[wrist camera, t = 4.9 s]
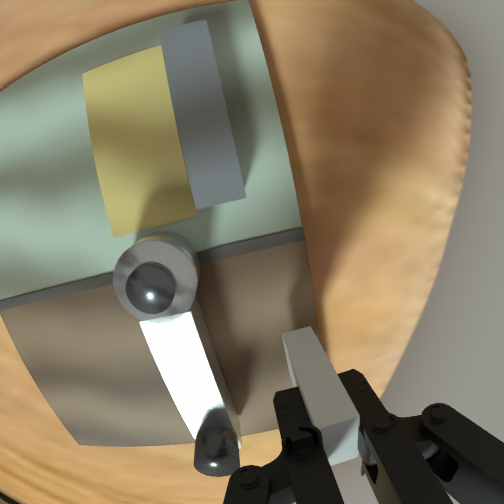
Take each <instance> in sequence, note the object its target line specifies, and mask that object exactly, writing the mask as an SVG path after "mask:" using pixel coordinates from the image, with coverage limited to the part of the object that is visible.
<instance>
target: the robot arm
mask: <svg viewBox="0 0 504 504" xmlns="http://www.w3.org/2000/svg"><path fill="white" fill-rule="evenodd" d="M282 338H283V343H284V348H285V353H286V358H287V363H288V368H289V373H290V377H291V380H292V383H293V386H294V387H293V388H289V389H285V390H281V391H277V392H275V395H274V398H273V404H274V409H275V413H276V417H277V422H278V426H279V431H280V435H281V439H282V447H283V448H282V451H281V453H280V455H279V456H278V457H277V458H276V459H275V460H274V461H272V462H270V463H268V464H266V465H264V466H262V467H259V466H255V465H248V466H243V467H241V468H239V469H237V470H236V471H235V472H233V473H232V475H231V477H230V479H229V482H228V486H227V490H226V494H225V498H224V502H223V504H292V503H294V502H296V504H344V501H343V499H342V496H341V493H340V491H339V488H338V485H337V482H336V480H335V477H334V474H333V472H332V469H331V465H335V464H338V463H341V462H344V461H347V460H350V459H353V458H356V457H358V451H359V453H360V455H361V457H362V465H361V475H362V476H363V475H364V473H365V474H366V476H367V478H368V481H369V483H370V485H371V487H372V489H373V491H374V494H375V496H376V498H377V501H378V502H379V504H453V502H452V501H451V499H450V497H449V496H448V494H449V495H451V496H452V497H453V498H454V499H455V500H456V501H458V502H459V503H460V504H504V443H503V442H502V441H500V440H499V439H497V438H496V437H494V436H493V435H491V434H490V433H488V432H487V431H485V430H484V429H482V428H481V427H480V426H478V425H477V424H475V423H474V422H472V421H471V420H469V419H468V418H466V417H465V416H463V415H462V414H460V413H459V412H457V411H456V410H455V409H453V408H452V407H450V406H449V405H446V404H444V403H436V404H431V405H430V406H428V407H426V408H425V409H424V410H423V412H422V415H418V416H412V417H403V418H402V417H397V416H395V415H393V414H391V413H389V412H388V411H387V410H386V409H385V407H384V406H383V404H382V403H381V401H380V400H379V398H378V397H377V395H376V394H375V392H374V391H373V389H372V388H371V386H370V384H369V383H368V381H367V380H366V378H365V377H364V375H363V374H362V373H360V372H358V371H357V370H355V369H352V370H349V371H346V372H342V373H339V374H337V373H336V371H335V369H334V368H333V366H332V364H331V362H330V360H329V359H328V357H327V355H326V353H325V351H324V350H323V348H322V346H321V344H320V342H319V341H318V339H317V337H316V335H315V333H314V332H313V330H312V328H311V326H309V327H305V328H302V329H298V330H294V331H290V332H286V333H282ZM446 492H447V493H448V494H447V493H446Z"/></svg>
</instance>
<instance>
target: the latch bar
mask: <svg viewBox="0 0 504 504" xmlns="http://www.w3.org/2000/svg"><path fill="white" fill-rule="evenodd" d="M199 276H200V261H199V257H198V255H197V252H196V250H195V249H194V247H193V246H192V245H191V244H190V242H188V241H187V240H186V239H185V238H183V237H182V236H180V235H178V234H176V233H173V232H169V231H156V232H152V233H149V234H147V235H145V236H144V237H142V238H141V239H140V240H138V241H137V242H136V243H135V244H133V245H132V246H131V247H130V248H128V249H127V250H126V251H125V252H124V253H123V254H122V255H121V256H120V258H119V259H118V261H117V263H116V265H115V268H114V273H113V285H114V290H115V293H116V295H117V298H118V299H119V301H120V303H121V304H122V306H123V307H124V308H125V309H126V310H127V311H128V312H129V313H130V314H132V315H133V316H135V317H136V318H138V319H140V321H139V322H140V325H141V327H142V330H143V332H144V335H145V337H146V340H147V342H148V345H149V347H150V349H151V352H152V354H153V356H154V358H155V361H156V363H157V365H158V367H159V370H160V372H161V374H162V376H163V378H164V380H165V382H166V385H167V387H168V389H169V391H170V393H171V395H172V397H173V399H174V401H175V403H176V405H177V407H178V409H179V411H180V413H181V414H182V416H183V418H184V420H185V422H186V424H187V426H188V428H189V429H190V431H191V433H192V435H193V437H194V438H195V454H194V467H195V468H196V470H198V471H199V472H200V473H202V474H205V475H208V476H215V477H222V476H228V475H231V474H232V473H233V472H235V471H236V470H237V469H239V468H240V459H239V448H242V440H241V429H240V420H239V418H238V415H237V412H236V410H235V407H234V404H233V402H232V399H231V396H230V393H229V391H228V388H227V385H226V382H225V380H224V377H223V374H222V371H221V368H220V365H219V362H218V360H217V357H216V354H215V351H214V348H213V345H212V342H211V339H210V336H209V333H208V329H207V326H206V323H205V320H204V317H203V314H202V311H201V307H200V304H199V301H198V297H197V294H196V289H197V285H198V281H199Z"/></svg>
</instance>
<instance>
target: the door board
mask: <svg viewBox="0 0 504 504" xmlns="http://www.w3.org/2000/svg"><path fill="white" fill-rule="evenodd" d="M156 231H169V232H173V233H176V234H178V235H180V236H182V237H183V238H185V239H186V240H187V241H188V242H190V244H191V245H192V246H193V247H194V249H195V250H196V252H197V255H198V257H199V261H200V276H199V281H198V285H197V289H196V294H197V297H198V301H199V304H200V307H201V311H202V314H203V317H204V320H205V323H206V326H207V329H208V333H209V336H210V339H211V342H212V345H213V348H214V351H215V354H216V357H217V360H218V362H219V365H220V368H221V371H222V374H223V377H224V380H225V382H226V385H227V388H228V391H229V393H230V396H231V399H232V402H233V404H234V407H235V410H236V412H237V415H238V418H239V420H240V429H241V436H245V435H251V434H256V433H261V432H266V431H270V430H275V429H279V426H278V422H277V417H276V413H275V409H274V404H273V398H274V395H275V392H277V391H281V390H285V389H289V388H293V387H294V386H293V383H292V380H291V377H290V373H289V368H288V363H287V358H286V353H285V348H284V343H283V338H282V333H286V332H290V331H294V330H298V329H302V328H305V327H309V326H311V328H312V330H313V332H314V333H315V335H316V337H317V339H318V341H319V342H320V339H319V331H318V324H317V316H316V309H315V302H314V295H313V289H312V282H311V276H310V269H309V263H308V257H307V251H306V245H305V237H304V231H303V228H302V222H301V217H300V212H299V206H298V201H297V196H296V191H295V186H294V181H293V176H292V171H291V166H290V161H289V156H288V152H287V147H286V143H285V138H284V134H283V129H282V125H281V120H280V116H279V112H278V108H277V103H276V99H275V95H274V91H273V87H272V83H271V79H270V75H269V71H268V68H267V64H266V60H265V56H264V52H263V49H262V45H261V42H260V38H259V34H258V31H257V27H256V24H255V20H254V17H253V14H252V10H251V7H250V4H249V0H236V1H229V2H222V3H216V4H211V5H205V6H200V7H195V8H191V9H186V10H182V11H178V12H174V13H170V14H166V15H162V16H159V17H155V18H152V19H149V20H145V21H142V22H139V23H136V24H133V25H130V26H127V27H124V28H122V29H119V30H116V31H114V32H111V33H108V34H106V35H103V36H101V37H99V38H96V39H94V40H92V41H89V42H87V43H85V44H83V45H80V46H78V47H76V48H74V49H72V50H70V51H68V52H66V53H64V54H62V55H60V56H58V57H56V58H54V59H52V60H50V61H49V62H47V63H45V64H43V65H41V66H40V67H38V68H36V69H35V70H33V71H31V72H29V73H28V74H26V75H25V76H23V77H21V78H20V79H18V80H17V81H15V82H14V83H12V84H11V85H9V86H8V87H6V88H5V89H3V90H2V91H0V314H1V317H2V319H3V321H4V324H5V326H6V328H7V330H8V332H9V334H10V337H11V339H12V341H13V343H14V345H15V347H16V349H17V351H18V353H19V355H20V356H21V358H22V360H23V362H24V364H25V366H26V367H27V369H28V371H29V373H30V374H31V376H32V378H33V380H34V381H35V383H36V385H37V386H38V388H39V389H40V391H41V393H42V394H43V396H44V397H45V399H46V400H47V402H48V403H49V405H50V406H51V408H52V409H53V411H54V412H55V414H56V415H57V416H58V418H59V419H60V421H61V422H62V423H63V425H64V426H65V427H66V429H67V430H68V431H69V433H70V434H71V435H72V437H73V438H74V439H75V440H76V442H77V443H78V444H79V445H88V446H118V447H131V446H161V445H176V444H187V443H195V438H194V437H193V435H192V433H191V431H190V429H189V428H188V426H187V424H186V422H185V420H184V418H183V416H182V414H181V413H180V411H179V409H178V407H177V405H176V403H175V401H174V399H173V397H172V395H171V393H170V391H169V389H168V387H167V385H166V382H165V380H164V378H163V376H162V374H161V372H160V370H159V367H158V365H157V363H156V361H155V358H154V356H153V354H152V352H151V349H150V347H149V345H148V342H147V340H146V337H145V335H144V332H143V330H142V327H141V325H140V322H139V321H140V319H138V318H136V317H135V316H133V315H132V314H130V313H129V312H128V311H127V310H126V309H125V308H124V307H123V306H122V304H121V303H120V301H119V299H118V298H117V295H116V293H115V290H114V285H113V273H114V268H115V265H116V263H117V261H118V259H119V258H120V256H121V255H122V254H123V253H124V252H125V251H126V250H127V249H128V248H130V247H131V246H132V245H133V244H135V243H136V242H137V241H138V240H140V239H141V238H142V237H144V236H145V235H147V234H149V233H152V232H156Z"/></svg>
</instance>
